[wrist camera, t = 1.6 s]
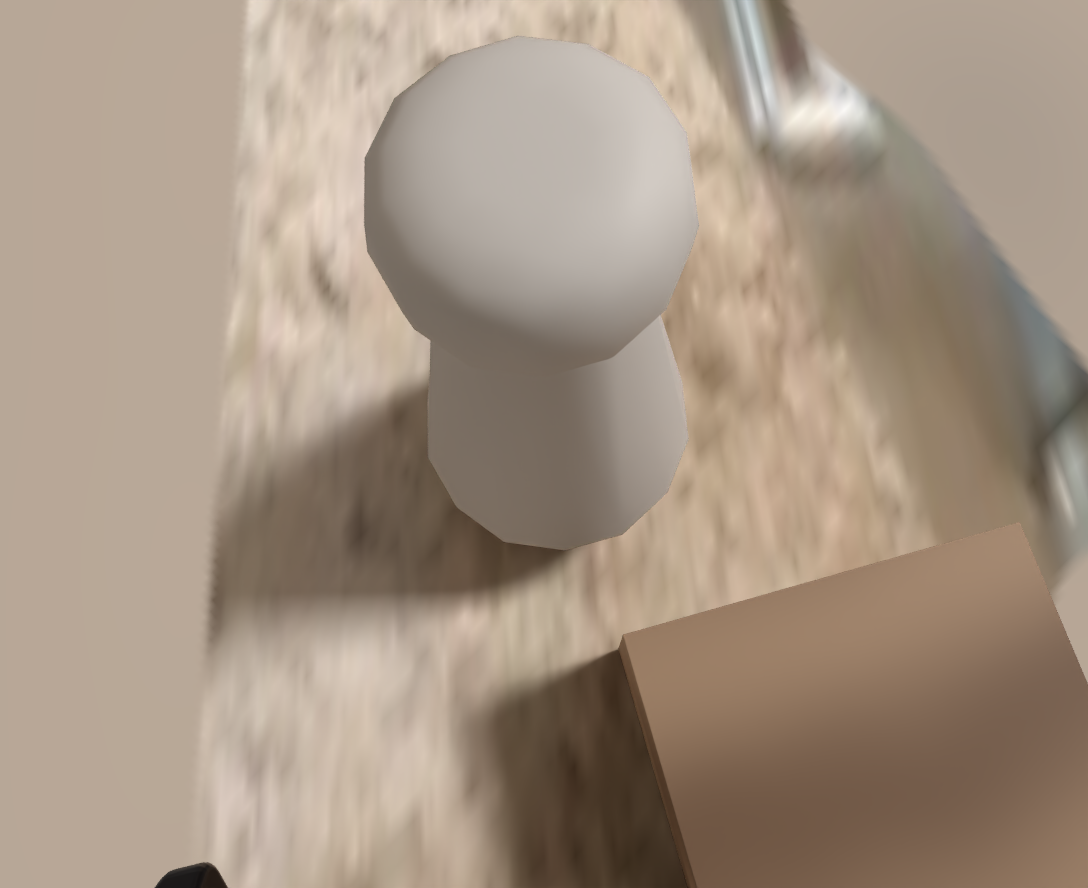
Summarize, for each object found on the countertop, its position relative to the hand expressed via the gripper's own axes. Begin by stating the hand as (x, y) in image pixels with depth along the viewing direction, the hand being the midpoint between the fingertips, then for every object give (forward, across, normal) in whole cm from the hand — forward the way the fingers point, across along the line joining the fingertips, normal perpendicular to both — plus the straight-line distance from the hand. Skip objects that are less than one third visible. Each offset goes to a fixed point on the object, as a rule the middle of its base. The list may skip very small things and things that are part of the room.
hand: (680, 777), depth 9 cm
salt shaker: (+14, 0, +4) cm, 15 cm away
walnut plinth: (+8, -4, +10) cm, 14 cm away
